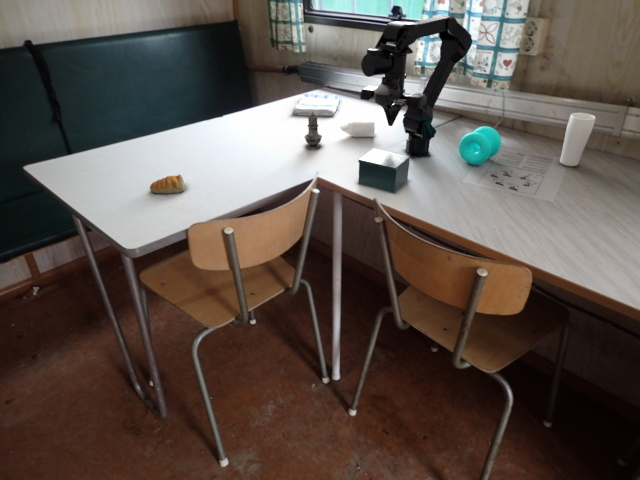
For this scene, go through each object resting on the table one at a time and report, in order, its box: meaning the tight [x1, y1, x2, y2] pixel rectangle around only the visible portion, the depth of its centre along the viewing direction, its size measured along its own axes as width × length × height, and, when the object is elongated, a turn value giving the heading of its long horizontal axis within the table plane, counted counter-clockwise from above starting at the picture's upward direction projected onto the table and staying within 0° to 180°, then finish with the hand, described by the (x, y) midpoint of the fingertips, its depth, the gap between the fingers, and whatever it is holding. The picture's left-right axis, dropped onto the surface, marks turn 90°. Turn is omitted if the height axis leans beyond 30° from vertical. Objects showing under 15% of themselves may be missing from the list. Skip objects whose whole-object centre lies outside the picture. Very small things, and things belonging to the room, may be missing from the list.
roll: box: [339, 119, 376, 138], centre depth 163 cm, size 6×12×6 cm, turn 89°
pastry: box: [149, 173, 185, 195], centre depth 129 cm, size 9×7×4 cm
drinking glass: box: [559, 112, 597, 167], centre depth 138 cm, size 7×7×15 cm
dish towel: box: [291, 93, 341, 117], centre depth 193 cm, size 17×24×3 cm
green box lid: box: [357, 148, 411, 171], centre depth 128 cm, size 9×11×1 cm
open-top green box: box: [357, 158, 411, 194], centre depth 131 cm, size 9×11×7 cm
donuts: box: [458, 125, 502, 166], centre depth 142 cm, size 10×10×10 cm
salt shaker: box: [304, 112, 323, 150], centre depth 153 cm, size 6×6×12 cm
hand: (390, 125), depth 137 cm, fingers closed
